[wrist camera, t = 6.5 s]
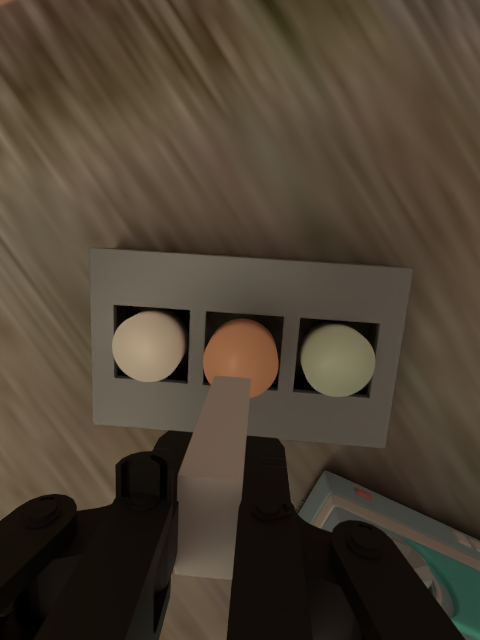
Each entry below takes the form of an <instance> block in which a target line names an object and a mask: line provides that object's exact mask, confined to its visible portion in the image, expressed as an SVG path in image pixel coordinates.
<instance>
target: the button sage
mask: <svg viewBox="0 0 480 640" xmlns="http://www.w3.org/2000/svg"><path fill="white" fill-rule="evenodd" d="M298 354H299V360H300V363H301V366H302V369H303V371H304V374H305V377H306V379H307V381H308V382H309V383H310V385H311V386H312V387H313V388H314V389H315V390H317V391H318V392H320V393H322V394H324V395H327V396H332V397H344V396H349V395H352V394H354V393H356V392H358V391H359V390H361V389H362V388H363V387H364V386H365V385H366V384H367V383H368V382H369V380H370V379H371V377H372V375H373V372H374V369H375V354H374V351H373V348H372V346H371V345H370V343H369V342H368V341H367V340H366V338H365V337H363V336H362V335H361V334H360V333H359V332H357V331H356V330H355V329H354V328H352V327H351V326H350V325H348V324H346V323H344V322H340V321H324V322H321V323H318V324H316V325H314V326H313V327H311V328H310V329H309V330H308V331H307V332H306V333H305V334H304V336H303V338H302V340H301V342H300V345H299V353H298Z"/></svg>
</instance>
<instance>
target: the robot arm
mask: <svg viewBox="0 0 480 640" xmlns="http://www.w3.org/2000/svg"><path fill="white" fill-rule="evenodd" d="M250 383H251V378H241V377H228V376H215V375H214V378H213V381H212V383H211V386H210V389H209V391H208V394H207V397H206V400H205V402H204V405H203V408H202V410H201V413H200V416H199V419H198V421H197V424H196V427H195V430H194V432H186V431H174V430H169V431H168V432H167V433H165V434H164V435H163V436H161V437H160V438H159V439H158V441H157V443H156V445H155V447H154V449H153V451H148V452H138V453H134V454H131V455H129V456H127V457H125V458H123V459H121V460H120V461H119V462H118V463H117V464H116V498H115V500H114V501H113V503H112V504H110V505H108V506H105V507H100V508H95V509H88V510H81V511H77V506H76V504H75V502H74V500H73V499H72V498H70V497H68V496H66V495H60V494H51V495H43V496H40V497H37V498H34V499H32V500H29V501H28V502H26V503H24V504H23V505H21V506H19V507H18V508H17V509H15V510H14V511H13V512H11V513H10V514H9V515H7V516H6V517H5V518H3V519H2V520H1V521H0V640H159V637H160V633H161V629H162V625H163V621H164V618H165V614H166V610H167V606H168V602H169V598H170V586H171V574H172V571H173V567H174V563H175V575H184V576H194V577H204V578H214V579H223V580H232V587H231V598H230V609H229V620H228V631H227V640H465V638H464V637H463V635H462V634H461V633H460V631H459V630H458V629H457V627H456V626H455V625H454V623H453V622H452V621H451V619H450V618H449V616H448V615H447V614H446V612H445V611H444V610H443V608H442V607H441V606H440V604H439V603H438V601H437V600H436V599H435V597H434V596H433V595H432V593H431V592H430V591H429V589H428V588H427V586H426V585H425V584H424V582H423V581H422V580H421V578H420V577H419V576H418V574H417V573H416V572H415V570H414V569H413V567H412V566H411V565H410V563H409V562H408V561H407V559H406V558H405V557H404V555H403V554H402V552H401V551H400V550H399V548H398V547H397V546H396V544H395V543H394V542H393V540H392V539H391V538H390V537H389V536H388V535H387V534H386V533H385V532H384V531H382V530H380V529H379V528H377V527H375V526H374V525H372V524H369V523H366V522H363V521H357V520H347V521H343V522H340V523H338V524H337V525H336V526H335V527H334V528H333V531H332V532H329V531H327V530H324V529H321V528H318V527H316V526H314V525H311V524H309V523H308V522H306V521H305V520H303V519H302V518H301V517H300V516H299V515H298V514H297V513H296V511H295V508H294V506H293V504H292V503H291V499H290V491H289V482H288V474H287V465H286V457H285V448H284V446H283V445H282V444H281V442H280V441H279V440H278V439H277V438H271V437H259V436H247V427H248V412H249V398H250Z"/></svg>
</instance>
